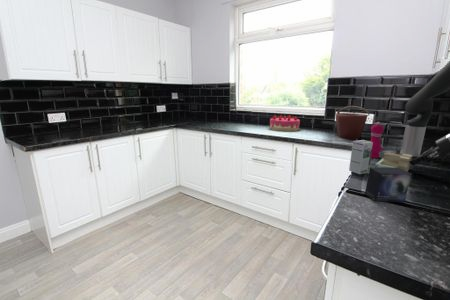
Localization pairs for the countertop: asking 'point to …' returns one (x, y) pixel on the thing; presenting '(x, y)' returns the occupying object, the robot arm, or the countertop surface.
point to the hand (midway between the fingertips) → (410, 163)
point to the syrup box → (360, 156)
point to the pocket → (381, 164)
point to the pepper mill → (376, 139)
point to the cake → (284, 123)
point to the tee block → (397, 160)
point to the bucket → (350, 123)
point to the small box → (387, 184)
